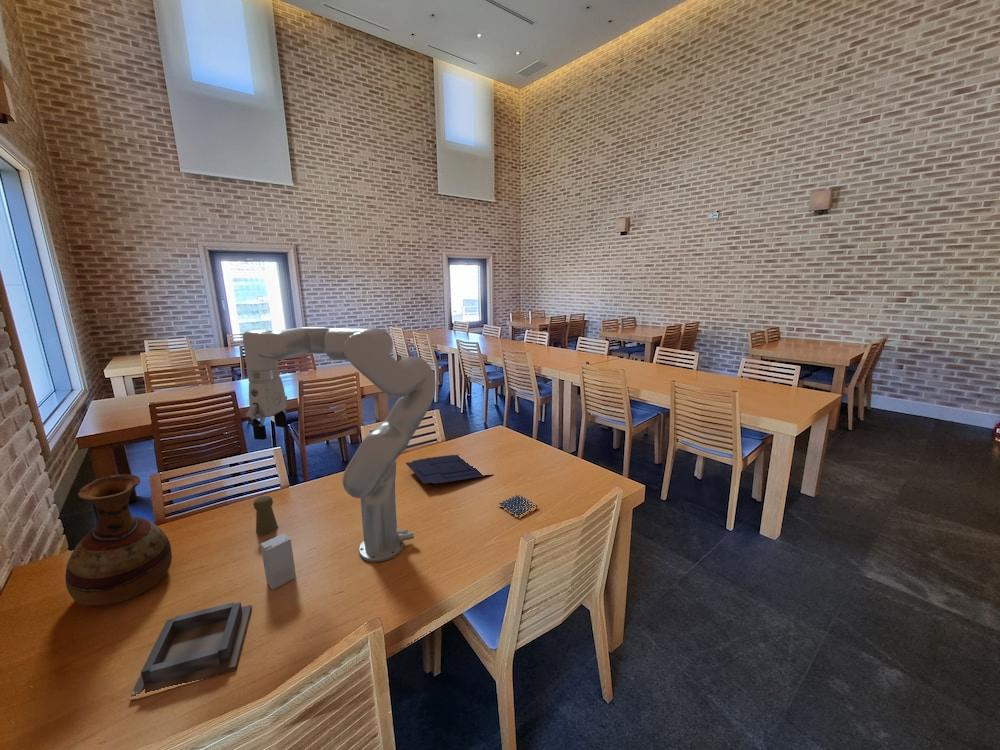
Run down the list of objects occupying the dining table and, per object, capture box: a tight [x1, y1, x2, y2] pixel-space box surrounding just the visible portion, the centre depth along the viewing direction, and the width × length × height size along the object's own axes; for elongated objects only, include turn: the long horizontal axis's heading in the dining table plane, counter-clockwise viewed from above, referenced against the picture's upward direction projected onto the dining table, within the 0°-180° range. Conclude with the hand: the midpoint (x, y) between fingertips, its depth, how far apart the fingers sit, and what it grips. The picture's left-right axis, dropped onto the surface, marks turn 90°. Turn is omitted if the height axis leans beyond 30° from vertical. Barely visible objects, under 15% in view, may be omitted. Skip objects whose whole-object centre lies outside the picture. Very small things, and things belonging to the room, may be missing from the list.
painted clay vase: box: [64, 473, 173, 606], centre depth 100 cm, size 20×20×30 cm
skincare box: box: [259, 533, 297, 590], centre depth 104 cm, size 6×4×12 cm
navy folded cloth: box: [405, 454, 484, 485], centre depth 165 cm, size 24×30×4 cm
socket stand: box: [130, 601, 253, 697], centre depth 85 cm, size 17×17×4 cm
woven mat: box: [498, 494, 538, 517], centre depth 140 cm, size 10×11×2 cm
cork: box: [253, 495, 279, 536], centre depth 126 cm, size 6×6×11 cm
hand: (271, 432), depth 114 cm, fingers open, 9 cm apart
